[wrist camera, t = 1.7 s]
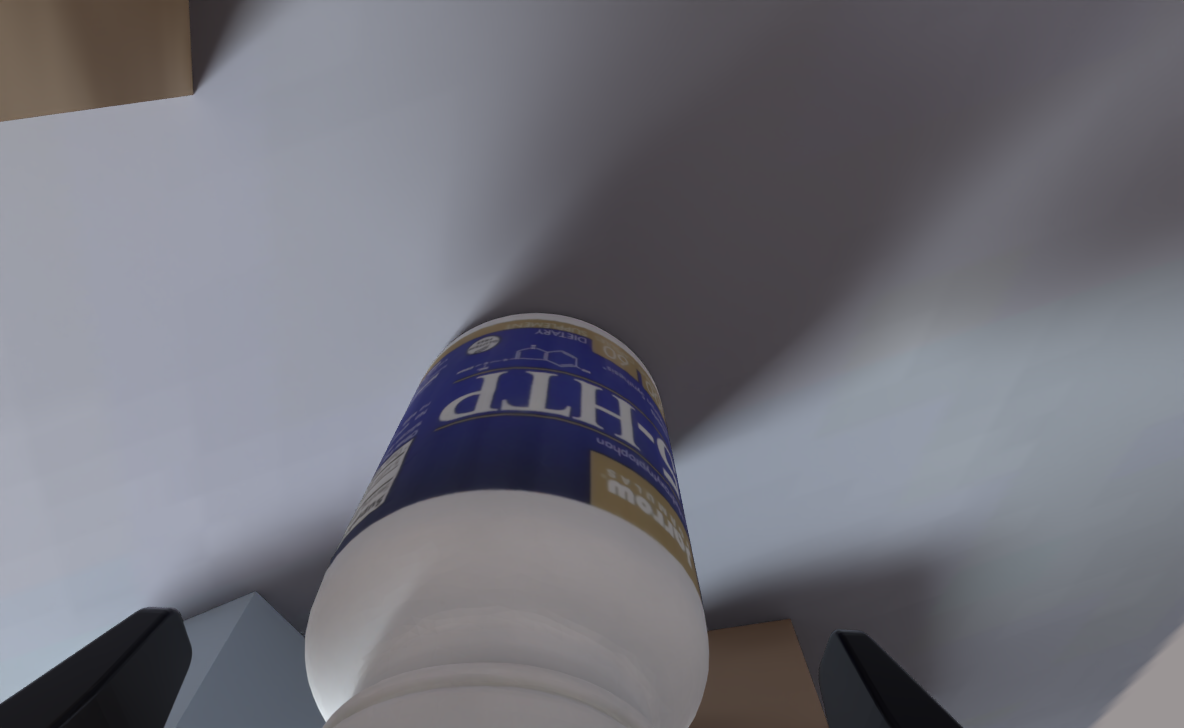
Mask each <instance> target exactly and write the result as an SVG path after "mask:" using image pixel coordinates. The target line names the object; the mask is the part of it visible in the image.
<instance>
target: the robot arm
mask: <svg viewBox="0 0 1184 728" xmlns="http://www.w3.org/2000/svg"><path fill="white" fill-rule="evenodd" d="M191 660H192V646H191V643H190V640H189V637H188V634H187V631H186V628H185V625H184V623H183V620H182V617H181V614H180V612H179V611H177V610H176V609H175V608H162V607H147V608H143V609H141V610H139V611H137V612H135V613H134V614H132V615H131V616H129V617H128V618H126V619H125V620H123V621H122V622H120V623H119V624H117V625H116V626H114V627H113V628H111V629H110V630H109V631H107V632H106V633H104V634H103V635H101V636H100V637H98V638H97V639H95V640H94V641H92V642H91V643H89V644H88V645H86V646H85V647H83V648H82V649H81V650H79V651H78V652H76V653H75V654H73V655H72V656H70V657H69V658H67V659H66V660H64V661H63V662H61V663H60V664H58V665H57V666H55V667H54V668H52V669H51V670H50V671H48V672H47V673H45V674H44V675H42V676H41V677H39V678H38V679H36V680H35V681H33V682H32V683H30V684H29V685H27V686H26V687H24V688H23V689H22V690H20V691H19V692H17V693H16V694H14V695H13V696H11V697H10V698H8V699H7V700H5V701H4V702H2V703H1V704H0V728H164V727H165V724H166V722H167V720H168V717H169V715H170V712H171V710H172V708H173V705H174V703H175V701H176V698H177V696H178V693H179V691H180V689H181V686H182V684H183V681H184V679H185V677H186V674H187V672H188V670H189V667H190V664H191ZM819 684H820V689H821V694H822V698H823V703H824V707H825V712H826V716H827V721H828V725H829V728H963V727H962V726H961V725H960V724H959V723H958V722H957V721H956V720H955V719H954V718H953V717H952V716H951V715H950V714H949V713H948V712H947V711H946V710H945V709H943V708H942V707H941V706H940V705H939V704H938V703H937V702H936V701H935V700H934V699H933V698H932V697H931V696H930V695H929V694H928V693H927V692H926V691H925V690H924V689H923V688H922V687H921V686H920V685H919V684H918V683H917V682H916V681H915V680H914V679H913V678H912V677H911V676H910V675H909V674H908V673H907V672H906V671H905V670H904V669H902V668H901V667H900V666H899V665H898V664H897V663H896V662H895V661H894V660H893V659H892V658H891V657H890V656H889V655H888V654H887V653H886V652H885V651H884V650H883V649H882V648H881V647H880V646H879V645H878V644H877V643H876V642H875V641H874V640H873V639H872V638H871V637H870V636H868V635H867V634H866V633H864V632H862V631H859V630H835V631H834V632H832V633H831V635H830V638H829V641H828V644H827V646H826V649H825V652H824V655H823V658H822V661H821V664H820V667H819Z"/></svg>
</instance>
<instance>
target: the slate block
mask: <svg viewBox="0 0 1184 728" xmlns="http://www.w3.org/2000/svg"><path fill="white" fill-rule="evenodd" d="M183 623H184V625H185V628H186V631H187V634H188V637H189V640H190V643H191V646H192V660H191V664H190V667H189V670H188V672H187V674H186V677H185V679H184V681H183V684H182V686H181V689H180V691H179V693H178V696H177V698H176V701H175V703H174V705H173V708H172V710H171V712H170V715H169V717H168V720H167V722H166V724H165V727H164V728H322V727H323V726H324V724H325V723H326V721H325V720H324V718H323V716H322V714H321V712H320V711H319V709H318V706H317V704H316V702H315V699H314V697H313V694H312V691H311V688H310V685H309V682H308V677H307V672H306V664H305V638H304V637H303V636H302V635H301V634H300V633H299V632H298V631H297V630H296V629H295V628H294V627H293V626H292V625H291V624H290V623H289V622H288V621H287V620H286V619H284V618H283V617H282V616H281V615H280V614H279V613H278V612H277V611H276V610H275V609H274V608H273V607H272V606H271V605H270V604H269V603H268V602H267V601H266V600H265V599H263V598H262V597H261V596H260V595H259V594H258V593H257V592H256V591H254V592H252V593H250V594H247V595H245V596H242V597H240V598H238V599H235V600H233V601H230V602H228V603H226V604H223V605H221V606H218V607H216V608H214V609H211V610H209V611H206V612H204V613H202V614H199V615H197V616H194V617H192V618H190V619H187V620H185V621H183Z"/></svg>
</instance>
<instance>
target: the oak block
mask: <svg viewBox="0 0 1184 728" xmlns="http://www.w3.org/2000/svg"><path fill="white" fill-rule="evenodd" d="M188 95H193V79H192V58H191V38H190V17H189V0H0V122H2V121H9V120H16V119H23V118H31V117H38V116H45V115H52V114H59V113H66V112H74V111H81V110H88V109H95V108H102V107H109V106H117V105H124V104H131V103H138V102H145V101H152V100H159V99H167V98H174V97H181V96H188Z"/></svg>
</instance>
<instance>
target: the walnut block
mask: <svg viewBox="0 0 1184 728" xmlns="http://www.w3.org/2000/svg"><path fill="white" fill-rule="evenodd" d="M707 634H708V643H709V671H708V677H707V682H706V686H705V690H704V694H703V697H702V700H701V703H700V706H699V708H698V711H697V713H696V716H695V718H694V719H693V721H692V723H691V724H690V726H689V728H829V726H828V723H827V720H826V717H825V714H824V712H823V709H822V706H821V703H820V700H819V698H818V695H817V692H816V689H815V686H814V684H813V681H812V678H811V675H810V672H809V670H808V667H807V664H806V661H805V658H804V656H803V653H802V650H801V647H800V644H799V642H798V639H797V636H796V633H795V630H794V628H793V625H792V622H791V619H785V620H778V621H772V622H765V623H758V624H751V625H744V626H738V627H731V628H724V629H717V630H711V631H707Z"/></svg>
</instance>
